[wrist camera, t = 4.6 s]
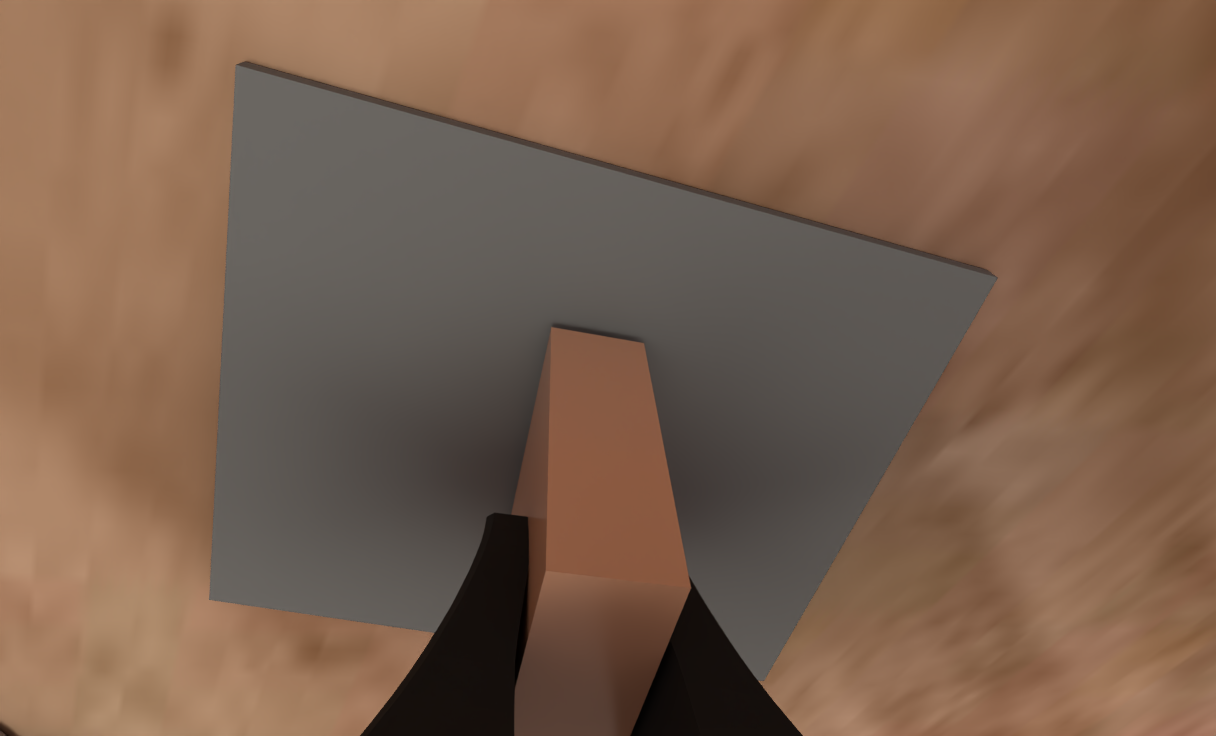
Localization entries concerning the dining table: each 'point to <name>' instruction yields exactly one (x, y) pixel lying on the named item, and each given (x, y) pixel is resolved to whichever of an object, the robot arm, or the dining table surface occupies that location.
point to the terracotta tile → (595, 542)
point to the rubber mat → (537, 358)
